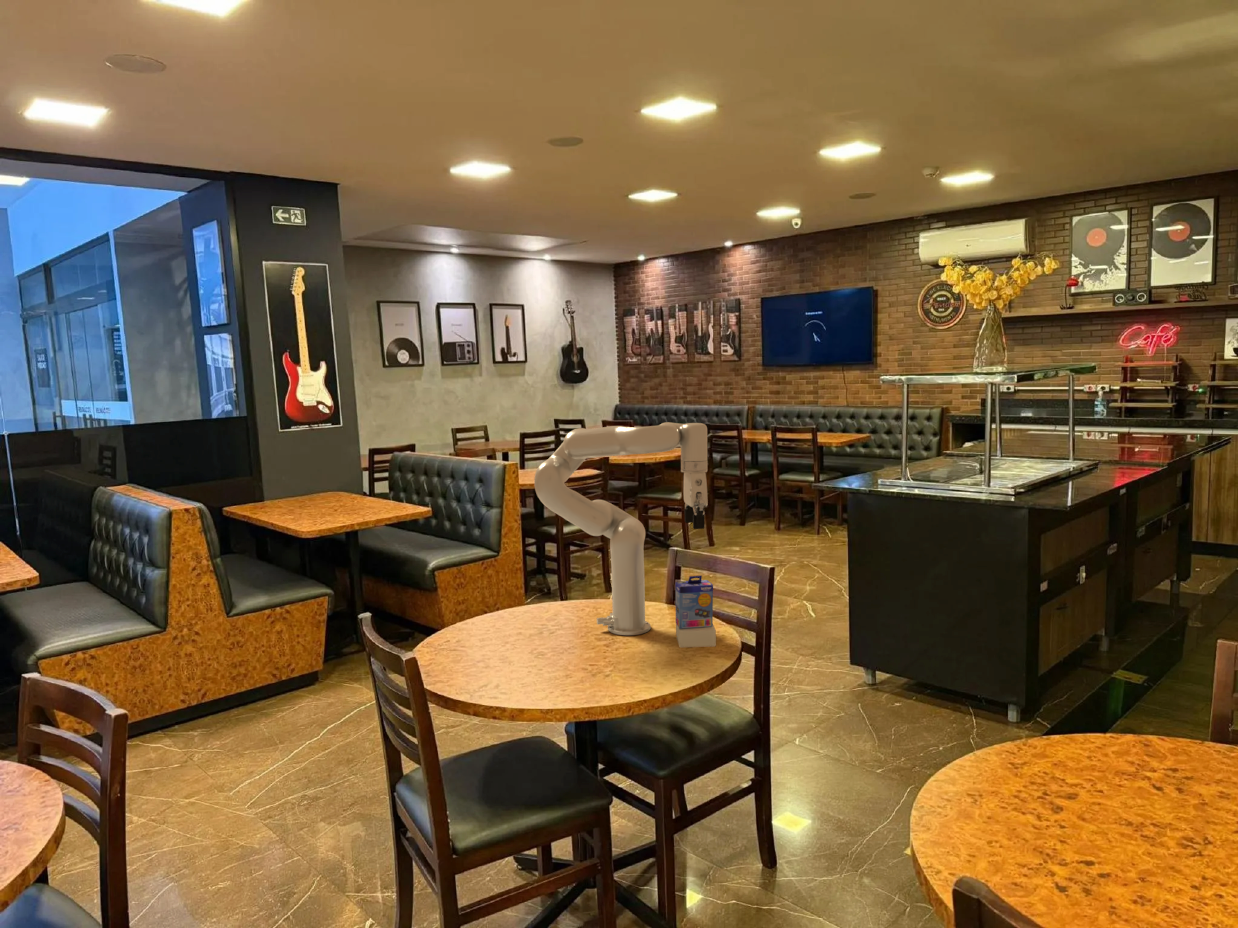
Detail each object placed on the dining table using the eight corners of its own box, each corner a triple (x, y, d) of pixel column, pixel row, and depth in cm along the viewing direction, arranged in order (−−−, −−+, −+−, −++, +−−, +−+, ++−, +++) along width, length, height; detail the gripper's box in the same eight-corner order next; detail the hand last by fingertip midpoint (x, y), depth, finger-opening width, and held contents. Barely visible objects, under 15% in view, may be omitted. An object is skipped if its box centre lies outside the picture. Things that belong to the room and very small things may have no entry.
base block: (679, 648, 232) (679, 631, 231) (676, 637, 242) (675, 620, 241) (715, 647, 232) (715, 630, 232) (711, 636, 242) (710, 619, 242)
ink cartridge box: (679, 629, 232) (679, 578, 231) (674, 623, 238) (673, 573, 236) (714, 627, 234) (713, 575, 233) (708, 621, 240) (707, 571, 238)
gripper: (715, 469, 233) (715, 530, 235) (699, 462, 250) (699, 519, 252) (688, 470, 232) (689, 532, 234) (674, 463, 249) (674, 520, 251)
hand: (694, 525), depth 243 cm, fingers open, 9 cm apart
